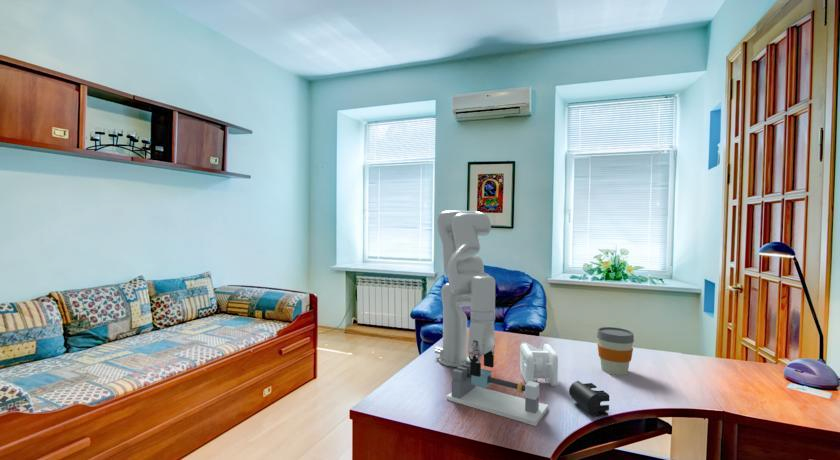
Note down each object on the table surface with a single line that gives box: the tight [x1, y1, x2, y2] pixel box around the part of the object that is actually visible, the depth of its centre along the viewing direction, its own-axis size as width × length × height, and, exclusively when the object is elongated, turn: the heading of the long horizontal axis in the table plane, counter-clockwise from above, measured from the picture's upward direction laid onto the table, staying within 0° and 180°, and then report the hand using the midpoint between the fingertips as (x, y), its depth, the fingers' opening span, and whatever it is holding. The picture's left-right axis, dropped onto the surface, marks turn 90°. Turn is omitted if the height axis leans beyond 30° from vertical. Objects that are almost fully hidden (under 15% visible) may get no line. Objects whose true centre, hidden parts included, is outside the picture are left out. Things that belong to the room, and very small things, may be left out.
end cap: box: [568, 380, 610, 418], centre depth 118 cm, size 10×7×7 cm
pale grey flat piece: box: [522, 342, 543, 351], centre depth 170 cm, size 25×24×1 cm
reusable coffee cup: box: [596, 326, 635, 376], centre depth 150 cm, size 13×13×15 cm
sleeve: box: [471, 368, 493, 389], centre depth 123 cm, size 5×4×4 cm
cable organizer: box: [519, 343, 559, 388], centre depth 139 cm, size 15×11×12 cm
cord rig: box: [446, 361, 549, 427], centre depth 121 cm, size 28×12×9 cm, turn 57°
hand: (482, 370), depth 123 cm, fingers open, 9 cm apart
